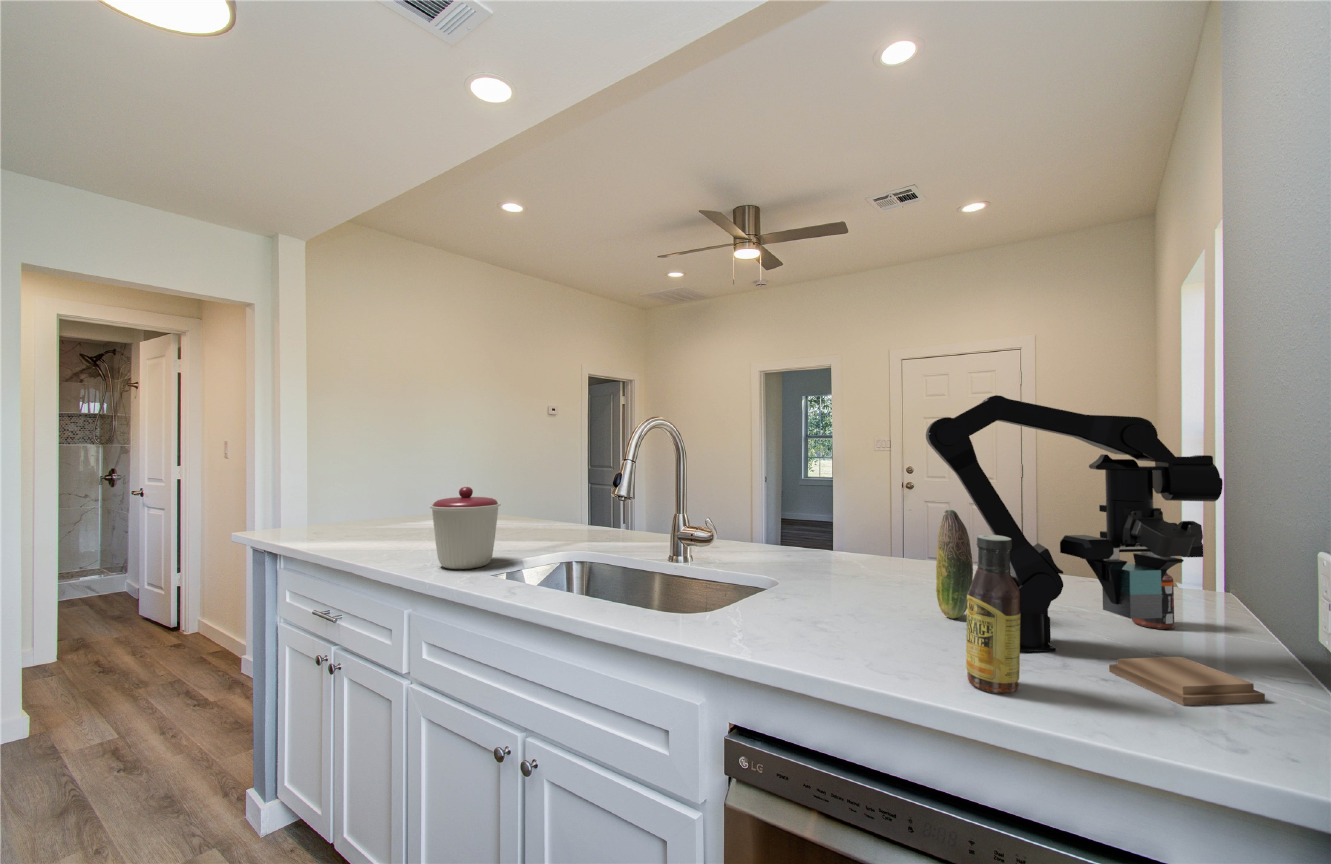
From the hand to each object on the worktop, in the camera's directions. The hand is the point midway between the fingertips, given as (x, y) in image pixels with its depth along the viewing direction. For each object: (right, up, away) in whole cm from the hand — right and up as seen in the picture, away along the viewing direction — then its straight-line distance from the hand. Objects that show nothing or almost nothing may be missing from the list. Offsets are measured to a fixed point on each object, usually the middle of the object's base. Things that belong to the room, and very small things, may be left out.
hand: (1131, 603), depth 91 cm
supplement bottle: (+16, -9, +15) cm, 23 cm away
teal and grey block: (0, -2, 0) cm, 2 cm away
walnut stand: (-2, -8, -11) cm, 14 cm away
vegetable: (-17, -9, +20) cm, 28 cm away
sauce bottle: (-27, -8, -12) cm, 31 cm away
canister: (-124, -10, +69) cm, 142 cm away
